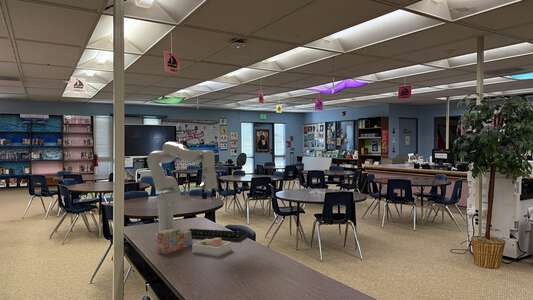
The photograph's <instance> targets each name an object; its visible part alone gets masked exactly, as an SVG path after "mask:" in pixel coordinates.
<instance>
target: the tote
mask: <svg viewBox="0 0 533 300" xmlns="http://www.w3.org/2000/svg"><path fill="white" fill-rule="evenodd" d="M208 240H212V247H211V246H204V245H200V241H197V242H195V243H193V244H192V245H191V246H192V247H191V252H192V254H197V255H204V256H210V257H221V256H223V255H225V254H227V253H228V252H231V251H232V242H231V241H222V245H221V246H219V247H213V239H208Z"/></svg>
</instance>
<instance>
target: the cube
mask: <svg viewBox="0 0 533 300" xmlns="http://www.w3.org/2000/svg"><path fill="white" fill-rule="evenodd" d="M199 242H200V245H204V246H211V247H212V240H208V239H205V240H203V239H201V240H200V241H199Z"/></svg>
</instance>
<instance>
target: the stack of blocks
mask: <svg viewBox="0 0 533 300" xmlns="http://www.w3.org/2000/svg"><path fill="white" fill-rule="evenodd" d="M156 234H157V238H156V242H157V253H159V254H163V255H165V254H169V253H173V252H175V251H179V250H181V249H185V248H187V247H191V246H192V243H193V242H192V240H193V239H192V236H191V231H189V229H183V230H181V229H180V228H175V227H173V228H172V229H168V230H164V231H160V232H159V231H158V232H156Z"/></svg>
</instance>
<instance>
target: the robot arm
mask: <svg viewBox="0 0 533 300" xmlns="http://www.w3.org/2000/svg"><path fill="white" fill-rule="evenodd" d="M177 158H179V159H180V160H181V161H184V162H187V163H202V164H201V165H202V174H201V175H202V176H201V184H200V185H199V189H200V192H201V199H202V200H207V198H208V195H207V194H208V192H207V190H211V197H212V198H216V197H217V190H218V189H217V188H218V185H219V182H217V181H218V180H217V173H216V168H215V163H216V162H215V151H214V150H210V149H207V150H206V149H205V150H204V149H194V150H191V149H188V147H187V146H186V145H184V144H183V143H181V142H180V141H168V142H165V143H164V144H163V145H162V150H154V151H151V152H150V153H149V154H148V155H147V158H146V159H147V166H148V168H149V171H150V174H151V177H152V181H153V185H154V188H155V190H156V191H157V192H160V193H158V195H157V197H156V206H157V212H158V213H157V214H158V232H160V231H164V230H168V229H172V228H174V211H173V209H172V208H171V206H176V205H178V204H180V203H181V201H182V195H181V191H180V187H179V184H178V181H177V179H176V177H174V176H172V175H171V176H170V175H169V176H168V175H166V173H165V170H164V168H163V166H162V165H160V164H170V163H172V162H173V161H174V160H176V159H177ZM155 236H157V233H155Z"/></svg>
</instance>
